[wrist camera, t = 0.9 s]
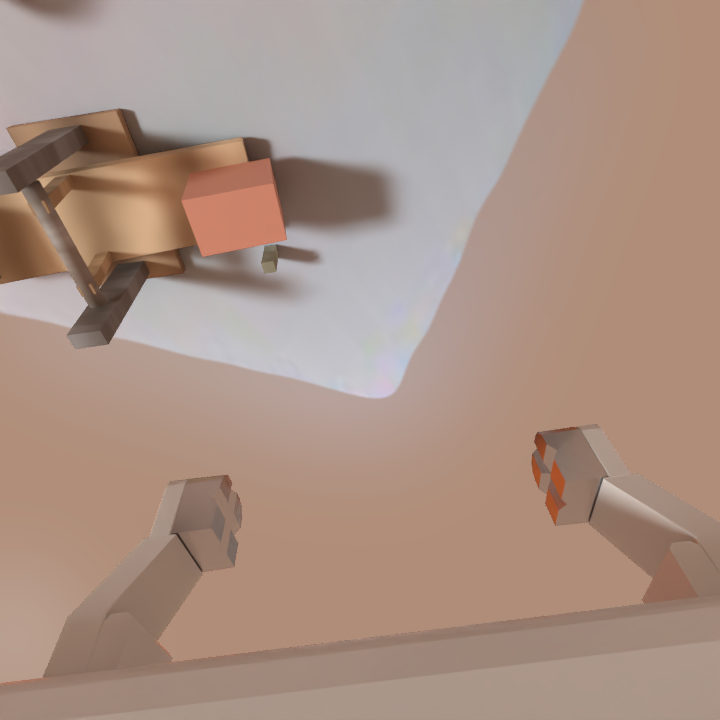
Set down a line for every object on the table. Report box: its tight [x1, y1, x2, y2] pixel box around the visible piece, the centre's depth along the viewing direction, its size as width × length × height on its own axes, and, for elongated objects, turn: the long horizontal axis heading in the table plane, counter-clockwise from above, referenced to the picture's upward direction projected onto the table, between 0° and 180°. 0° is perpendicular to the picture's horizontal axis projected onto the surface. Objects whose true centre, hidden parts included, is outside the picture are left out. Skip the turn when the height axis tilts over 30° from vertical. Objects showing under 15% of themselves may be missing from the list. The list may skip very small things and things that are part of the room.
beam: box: [0, 137, 249, 308], centre depth 34 cm, size 26×9×7 cm, turn 97°
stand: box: [0, 109, 279, 349], centre depth 33 cm, size 16×13×11 cm
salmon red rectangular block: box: [181, 158, 287, 257], centre depth 34 cm, size 6×4×6 cm, turn 97°
